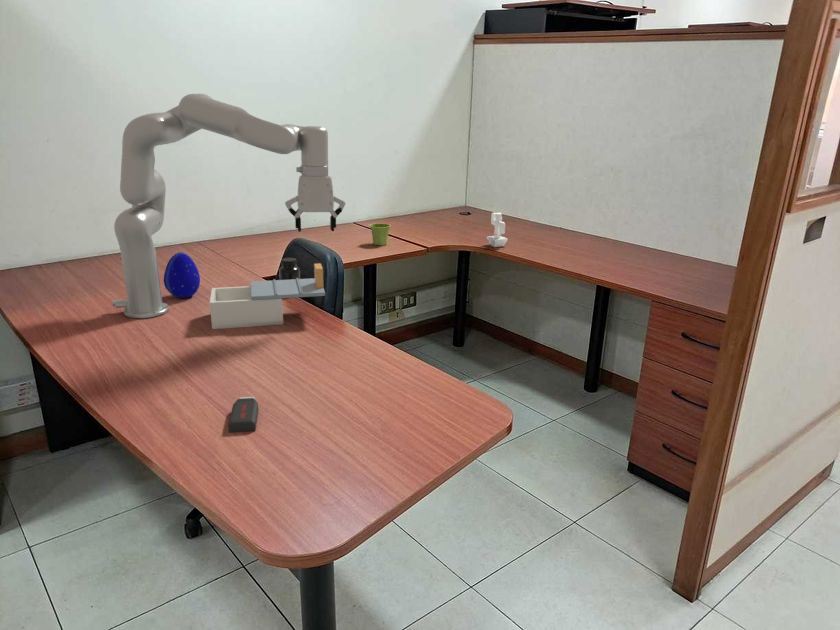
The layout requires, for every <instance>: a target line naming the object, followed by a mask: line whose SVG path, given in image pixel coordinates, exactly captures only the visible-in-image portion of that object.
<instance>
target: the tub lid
mask: <svg viewBox="0 0 840 630" xmlns="http://www.w3.org/2000/svg"><path fill="white" fill-rule="evenodd" d="M313 268H314V269H313V271H314V275H313V276H314V278H300V279H298V278H296V279H291V280H280V279H277V280H276V279H275V278H273V280H258V281H256V280H255V281H251V282H250V286H251V298H252V300H259V299H277V298H282V299H291V298H307V297H308V298H310V297H324V296H325V297H326V292H325V288H324V268H323V266H322V263H313Z"/></svg>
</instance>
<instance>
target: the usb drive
mask: <svg viewBox="0 0 840 630" xmlns="http://www.w3.org/2000/svg"><path fill="white" fill-rule="evenodd" d="M258 415H259V403H258V402H257V400H256V398H255V396H243V397H238V399H237V400H236V401H234V403H233V404H232V409H231V413H230V417H229V421H228V433H230V434H231V433H233V434H234V433H245V432H255V431H256V430H257V422H258V417H259V416H258Z"/></svg>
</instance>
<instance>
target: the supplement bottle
mask: <svg viewBox="0 0 840 630" xmlns="http://www.w3.org/2000/svg"><path fill="white" fill-rule="evenodd" d="M297 265H298V263H297V258H294V257H285V258H282V259H281V266H280V268H279V269H278V271H279V274H278V275H279V276H278V277H279V280H291V279H296V278H298V279H301V269H300V267H298V266H297Z"/></svg>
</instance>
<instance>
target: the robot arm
mask: <svg viewBox="0 0 840 630" xmlns="http://www.w3.org/2000/svg"><path fill="white" fill-rule="evenodd" d="M200 130H205V131H208V132H212V133H215V134H218V135H222V136H225V137H228V138H232V139H234V140H236V141H239V142H241V143H244V144H247V145H249V146H252V147H256V148H258V149H262V150H265V151H268V152H272V153H275V154H279V155H288V154H291V153H292V152H296V151H300V152H301V153H300V156H301V157H300V160H301V165H300V166H297V167H296V168H295V169H296V172H297V173H300V174H301V175H299V178H298V184H297V185H298V186H297V195H296V196H294V197H292V198H290V199H289V200H287V201H285V203H284V205H285V207H286V208H287V210H288V212H289V213H290V214H291V215H292V216H293V217H294V218H295V219H294V220H295V224H294V225H295V229H297V230H298V233H301V232H302V218H301V216H302V214H303V213H330V215H331V216H330V218H329V219H330V220H329V223H330V224H329V225H330V231H331V232H334V231H335V229H337V218H338V216H339V215H340V214H341V213H342V212H343V210H344V207H345V205H346V202H345V201H344V200H342V199H340V198H338V197H336V196H334V186H333V180H332V179H333V178H332V176H330V175H329V134H328V133H329V132H328V129H327V128H325V127H323V126H317V125H313V126H312V125H309V126H308V125H307V126H300V125H295V124H290V123H289V124H288V123H286V124H282V125H281V124H277V123H274V122H271V121H267V120H266V119H265V120H264V119H262V118H259V117H257V116H254V115H252V114H250V113H248V112H247V111H246V109H244V108H242V107H239V106H236V105H232V104H230V103H227V102H221V101H219V100H216V99H213V98H212V97H211V96H209V95H208V94H204V93H189V94H186V95H185V96H183V97H182V98H181V99H180V101H179V102H178V105H176V106H175V107H172V108H170V109H169V110H167V111H165V112H154V113H146V114H142V115H140V116H138V117H136V118H135V117H134V119H132V120H130V122H128V124H126V126H125V128H124V131H123V135H122V141H121V142H122V143H121V148H122V149H121V153H122V154H121V163H120V164H121V165H120V182H119V183H120V184H119V190H120V196H121V197H122V198H123V200H124V201H125V202H126V203H127V204H130V205H131V207H130V208H127V209H125V210H123V211H122V212H121V213H119V214H118V215H117V216H116V219H115V221H114V226H113V227H114V233H115V237H116V240H117V242H118V243H117V244H118V246H119V251H120V256H121V262H122V263H121V264H122V269H123V277H124V282H125V290H126V297H127V298H124V299H113V300H112V306H113V307H115V308H116V309H121V308H123V314H124V316H126V317H128V318H133V319H147V318H148V319H149V318H154V317H158V316H161V315H164V314H166V313H167V312H169V310H170V308H169V304H167V303H165V302H163V297H162V289H161V282H160V280H161V279H160V273H159V265H158V263H159V262H158V258H157V250H156V247H155V244H154V241H153V239H152V235H155V234H156V233H158V232H159V231H160V229H161V228H162V226H163V224H164V219H165V205H166V193H167V192H166V182H165V180H164V178H163V176H162V175H161V173H160V172H159V171H157V170H156V169H155V163H156V157H155V147H157V146H161V145H168V144H172V143H176V142H179V141H181V140H183V139H185V138H187V137H189V136H190V135H192V134H194V133H196V132H198V131H200ZM295 203H297V207H298V208H297V210H295V209H294V208H293V207H292V205H293V204H295ZM334 203H336V204H337V205H338V207H337V208H336V209H335V210H334V207H335V205H334Z"/></svg>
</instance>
